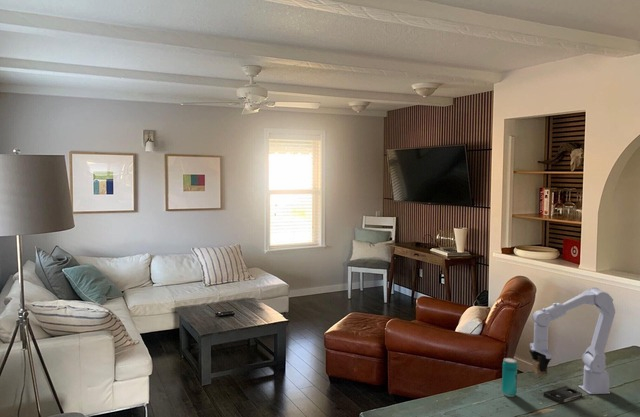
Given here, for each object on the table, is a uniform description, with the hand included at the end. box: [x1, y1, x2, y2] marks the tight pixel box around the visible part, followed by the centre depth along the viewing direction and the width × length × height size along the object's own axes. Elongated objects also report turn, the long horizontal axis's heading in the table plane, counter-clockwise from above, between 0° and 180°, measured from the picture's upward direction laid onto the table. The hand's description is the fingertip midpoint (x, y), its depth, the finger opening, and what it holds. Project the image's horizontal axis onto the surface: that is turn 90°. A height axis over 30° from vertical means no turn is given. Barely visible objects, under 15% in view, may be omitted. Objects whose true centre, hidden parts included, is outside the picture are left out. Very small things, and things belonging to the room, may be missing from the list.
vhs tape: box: [543, 385, 583, 404], centre depth 209 cm, size 14×8×2 cm, turn 118°
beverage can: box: [501, 357, 518, 398], centre depth 210 cm, size 6×6×15 cm
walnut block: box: [531, 359, 549, 376], centre depth 216 cm, size 4×4×5 cm
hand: (539, 369), depth 216 cm, fingers closed on walnut block, 4 cm apart
